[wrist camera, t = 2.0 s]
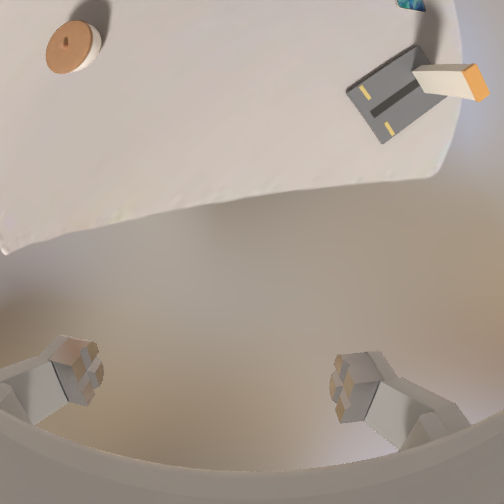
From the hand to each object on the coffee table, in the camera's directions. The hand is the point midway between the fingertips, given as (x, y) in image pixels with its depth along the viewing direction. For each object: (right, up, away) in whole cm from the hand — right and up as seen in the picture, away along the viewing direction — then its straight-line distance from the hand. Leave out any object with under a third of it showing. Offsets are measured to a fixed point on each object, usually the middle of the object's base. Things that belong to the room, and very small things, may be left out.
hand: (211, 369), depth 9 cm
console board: (+30, +34, +34) cm, 57 cm away
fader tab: (+34, +37, +31) cm, 59 cm away
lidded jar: (-31, +44, +29) cm, 61 cm away
